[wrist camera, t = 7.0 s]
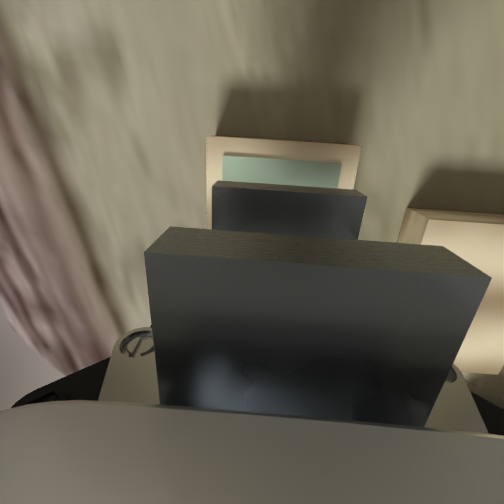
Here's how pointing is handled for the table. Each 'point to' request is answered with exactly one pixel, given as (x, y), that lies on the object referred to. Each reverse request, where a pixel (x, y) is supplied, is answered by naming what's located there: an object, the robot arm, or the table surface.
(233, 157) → the stand
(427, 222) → the stand
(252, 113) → the table surface
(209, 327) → the block
